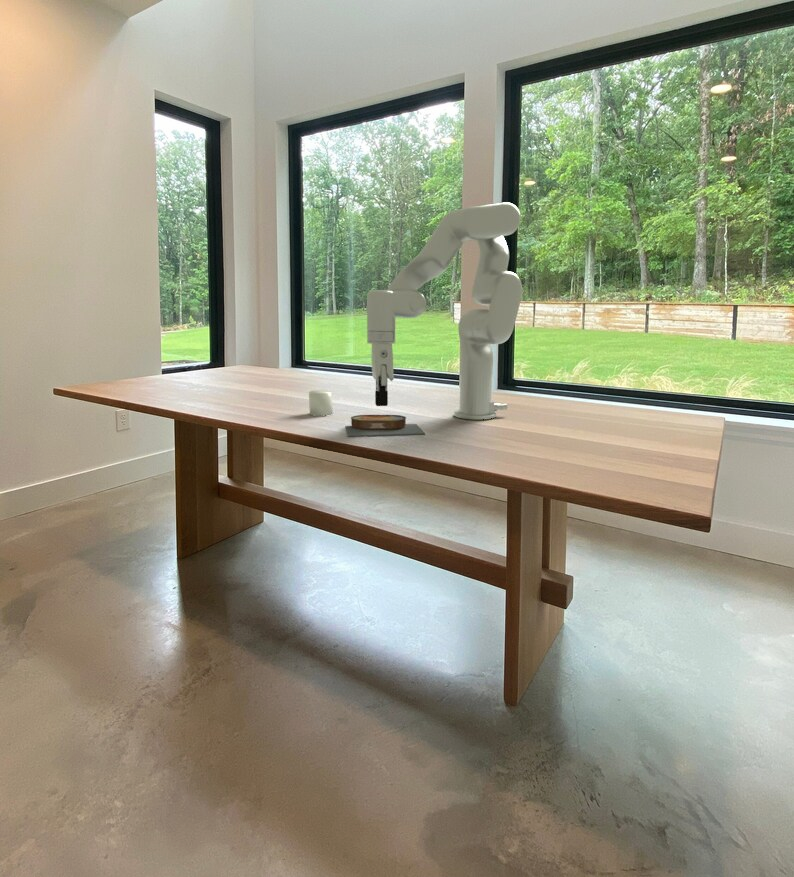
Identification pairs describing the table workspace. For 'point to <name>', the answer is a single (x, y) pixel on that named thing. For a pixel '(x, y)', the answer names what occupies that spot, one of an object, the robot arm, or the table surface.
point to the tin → (378, 421)
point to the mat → (385, 431)
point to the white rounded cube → (320, 402)
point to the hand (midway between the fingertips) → (381, 405)
